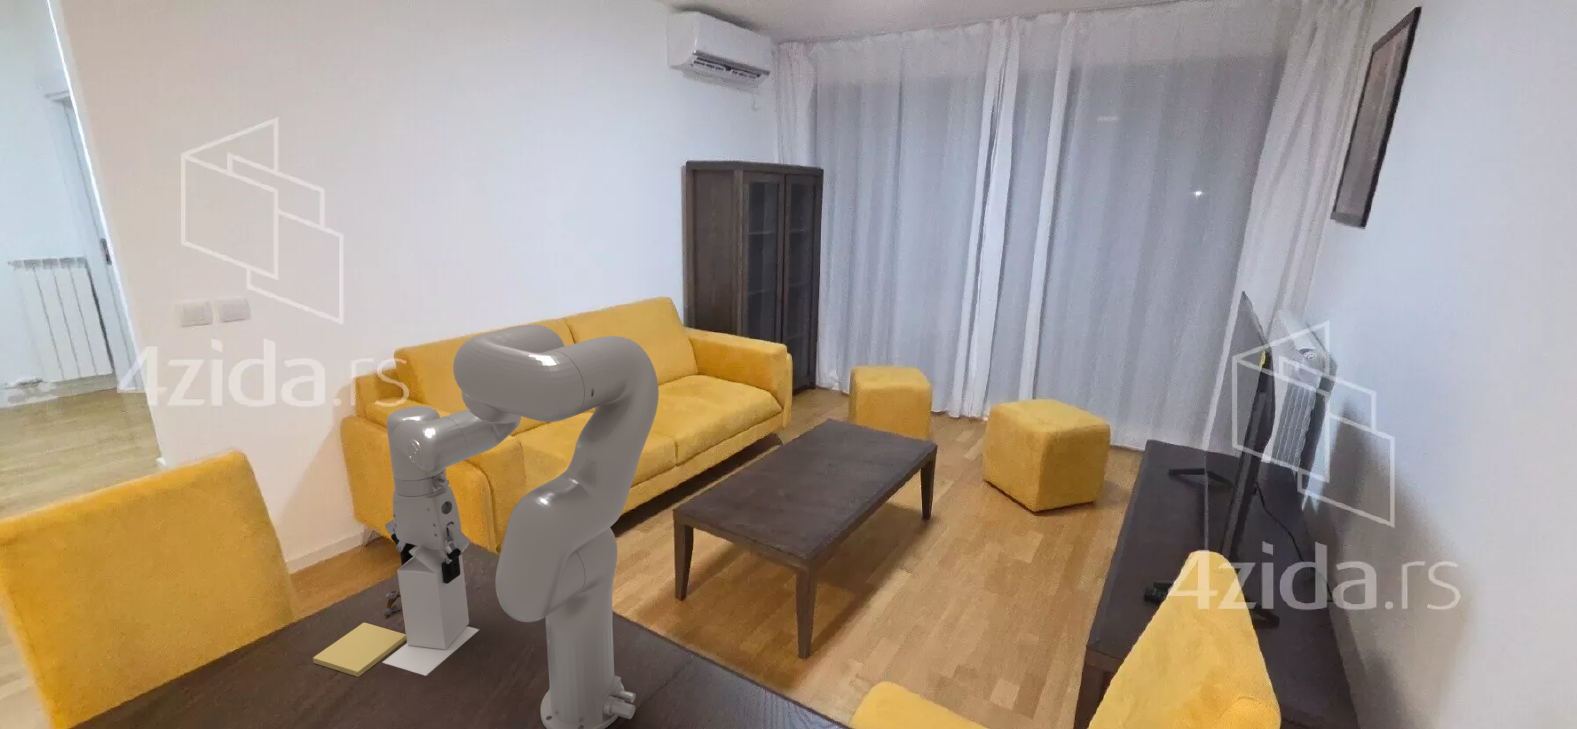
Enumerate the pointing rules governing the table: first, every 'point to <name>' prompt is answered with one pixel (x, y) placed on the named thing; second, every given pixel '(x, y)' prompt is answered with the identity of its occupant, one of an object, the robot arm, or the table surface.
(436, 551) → the milk carton
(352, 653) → the coaster
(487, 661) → the table surface
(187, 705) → the table surface
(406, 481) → the robot arm
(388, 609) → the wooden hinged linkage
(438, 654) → the tile
